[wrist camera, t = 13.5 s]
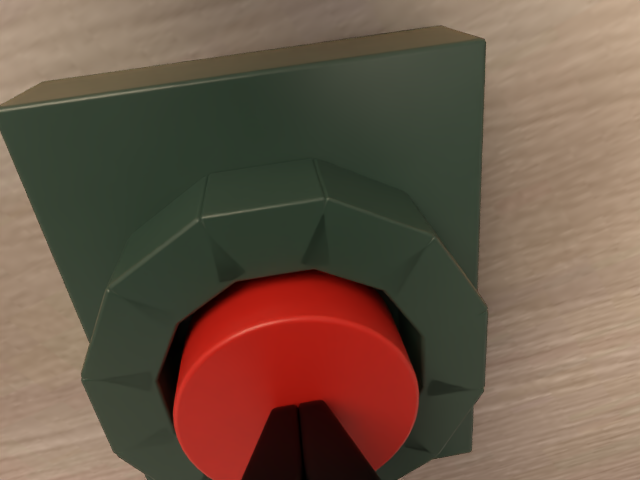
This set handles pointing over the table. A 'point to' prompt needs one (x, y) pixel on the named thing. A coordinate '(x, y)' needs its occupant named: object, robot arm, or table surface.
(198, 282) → the housing
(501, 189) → the table surface
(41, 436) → the table surface
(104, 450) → the table surface
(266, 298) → the button
